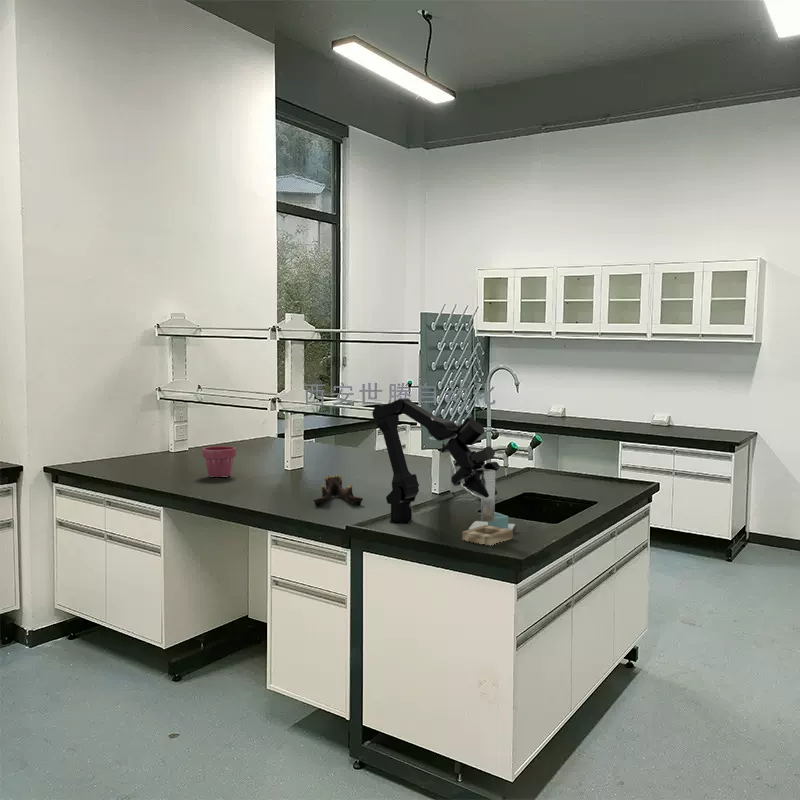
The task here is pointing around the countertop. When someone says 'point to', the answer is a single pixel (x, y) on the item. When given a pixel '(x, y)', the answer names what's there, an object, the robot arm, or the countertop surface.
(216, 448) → the plant pot
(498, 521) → the plate with teal chevron
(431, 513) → the countertop surface
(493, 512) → the silver metal cylinder
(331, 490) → the dark brown branching piece
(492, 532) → the wooden frame
